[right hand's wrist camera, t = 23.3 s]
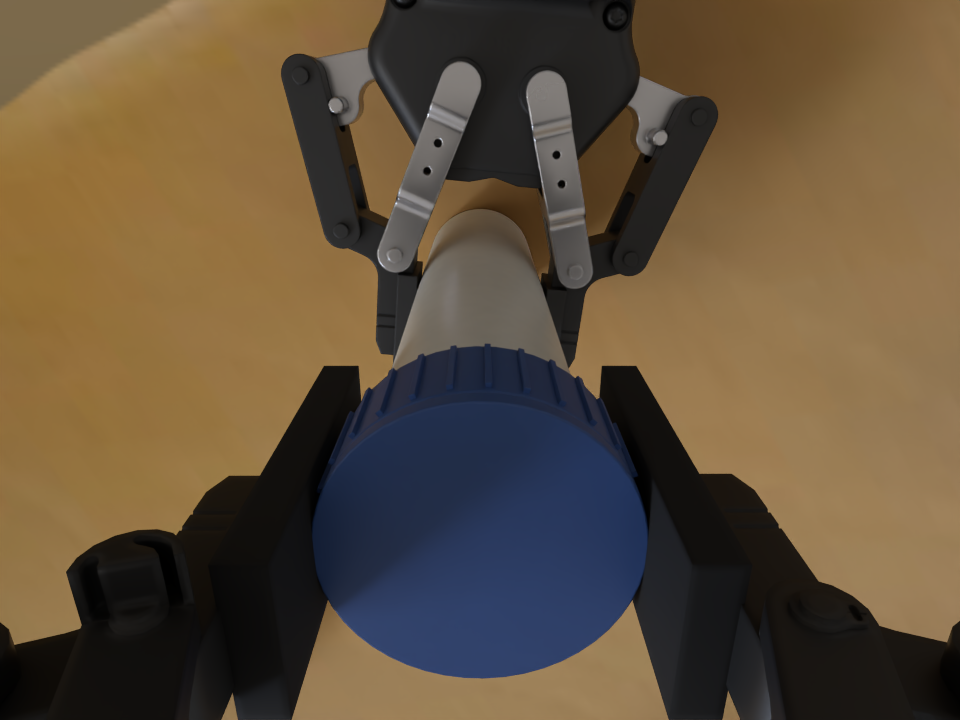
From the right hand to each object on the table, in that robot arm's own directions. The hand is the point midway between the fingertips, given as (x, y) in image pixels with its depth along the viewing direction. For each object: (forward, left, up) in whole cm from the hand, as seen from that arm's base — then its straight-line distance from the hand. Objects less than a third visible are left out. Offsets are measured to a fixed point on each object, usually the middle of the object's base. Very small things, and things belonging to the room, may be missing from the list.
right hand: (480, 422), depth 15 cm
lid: (0, 0, +4) cm, 4 cm away
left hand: (-2, +2, -9) cm, 10 cm away
